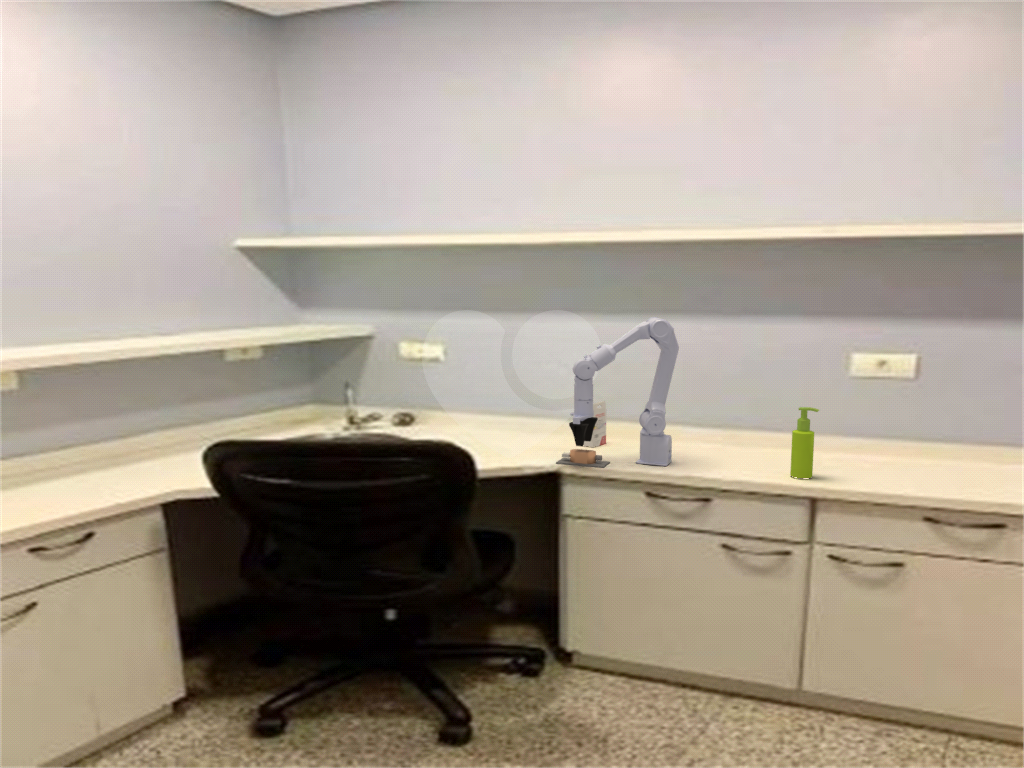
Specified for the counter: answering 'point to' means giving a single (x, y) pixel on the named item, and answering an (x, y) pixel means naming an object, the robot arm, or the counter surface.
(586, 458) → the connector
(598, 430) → the ink cartridge box
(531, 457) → the counter surface
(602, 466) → the mat
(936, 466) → the counter surface
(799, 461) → the soap dispenser
